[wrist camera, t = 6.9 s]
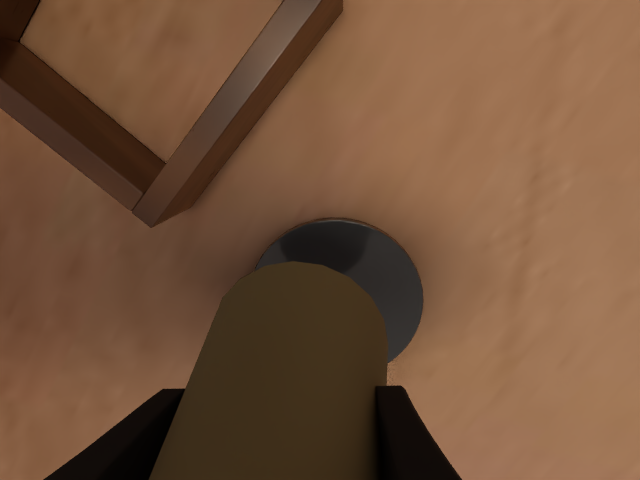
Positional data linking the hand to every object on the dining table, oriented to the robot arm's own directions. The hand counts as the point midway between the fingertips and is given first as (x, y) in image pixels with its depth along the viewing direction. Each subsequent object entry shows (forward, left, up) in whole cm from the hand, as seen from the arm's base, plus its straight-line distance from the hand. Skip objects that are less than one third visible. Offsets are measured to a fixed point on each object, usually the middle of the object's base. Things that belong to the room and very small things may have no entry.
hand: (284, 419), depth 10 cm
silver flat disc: (+1, -2, -10) cm, 11 cm away
